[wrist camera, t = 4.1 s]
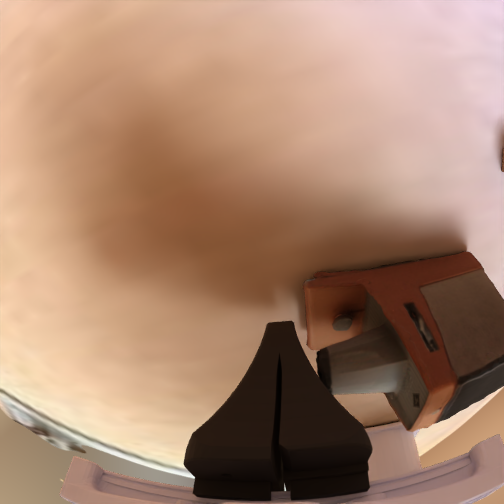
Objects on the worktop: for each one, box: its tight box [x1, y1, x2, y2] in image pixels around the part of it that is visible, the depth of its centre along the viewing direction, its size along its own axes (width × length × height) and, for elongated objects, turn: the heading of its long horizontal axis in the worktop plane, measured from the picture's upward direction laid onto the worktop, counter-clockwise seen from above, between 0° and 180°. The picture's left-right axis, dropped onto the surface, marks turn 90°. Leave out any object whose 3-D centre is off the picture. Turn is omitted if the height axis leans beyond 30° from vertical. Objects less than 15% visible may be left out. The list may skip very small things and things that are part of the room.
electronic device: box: [303, 252, 504, 432], centre depth 11 cm, size 4×10×8 cm, turn 99°
